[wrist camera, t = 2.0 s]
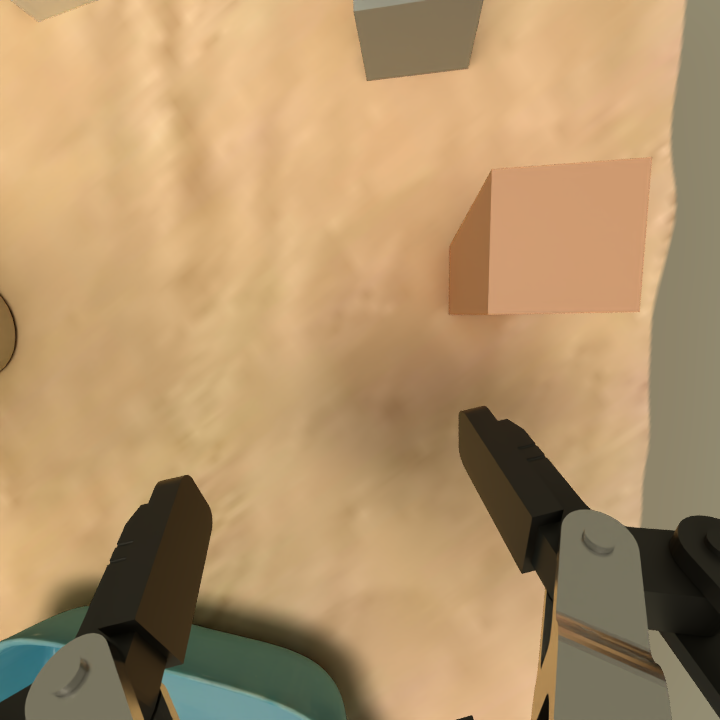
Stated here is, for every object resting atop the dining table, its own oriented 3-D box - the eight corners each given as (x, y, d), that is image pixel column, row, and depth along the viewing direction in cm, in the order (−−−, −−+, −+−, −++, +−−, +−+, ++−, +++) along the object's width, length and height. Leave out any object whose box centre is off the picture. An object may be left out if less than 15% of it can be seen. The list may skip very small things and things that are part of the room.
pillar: (448, 314, 27) (487, 314, 13) (449, 245, 26) (492, 169, 12) (518, 313, 26) (639, 311, 12) (521, 242, 25) (651, 157, 12)
